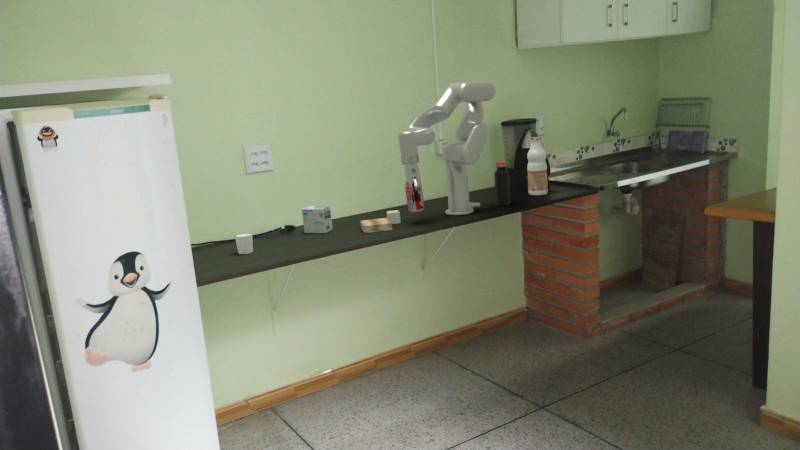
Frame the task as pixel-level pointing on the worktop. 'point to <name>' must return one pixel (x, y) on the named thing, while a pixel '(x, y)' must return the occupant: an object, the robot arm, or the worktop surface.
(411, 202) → the soda can
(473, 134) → the robot arm
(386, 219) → the slab
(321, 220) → the light bulb box
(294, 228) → the worktop surface
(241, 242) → the white cup
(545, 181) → the fruit juice
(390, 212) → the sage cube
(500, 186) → the bottle
